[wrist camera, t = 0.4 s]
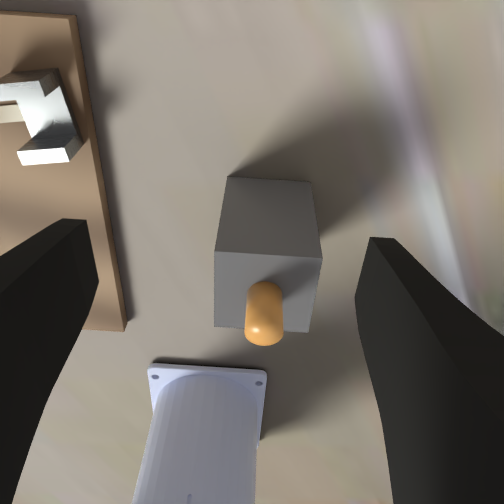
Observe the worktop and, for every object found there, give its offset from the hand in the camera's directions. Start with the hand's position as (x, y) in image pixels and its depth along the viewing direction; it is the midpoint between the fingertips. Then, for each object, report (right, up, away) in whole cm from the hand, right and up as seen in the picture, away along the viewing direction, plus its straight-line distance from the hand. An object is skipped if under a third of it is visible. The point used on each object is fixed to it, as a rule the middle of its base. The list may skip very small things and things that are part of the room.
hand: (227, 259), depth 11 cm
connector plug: (+1, +2, +11) cm, 11 cm away
